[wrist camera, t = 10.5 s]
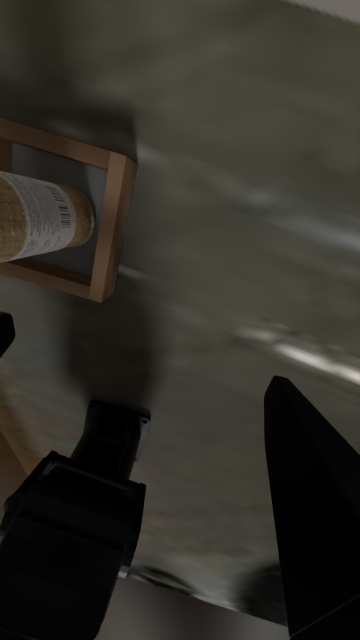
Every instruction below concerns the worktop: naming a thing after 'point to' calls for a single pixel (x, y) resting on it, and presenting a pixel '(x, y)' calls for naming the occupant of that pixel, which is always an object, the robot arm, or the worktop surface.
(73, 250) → the square wooden tray
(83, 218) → the sprinkles bottle
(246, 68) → the worktop surface
